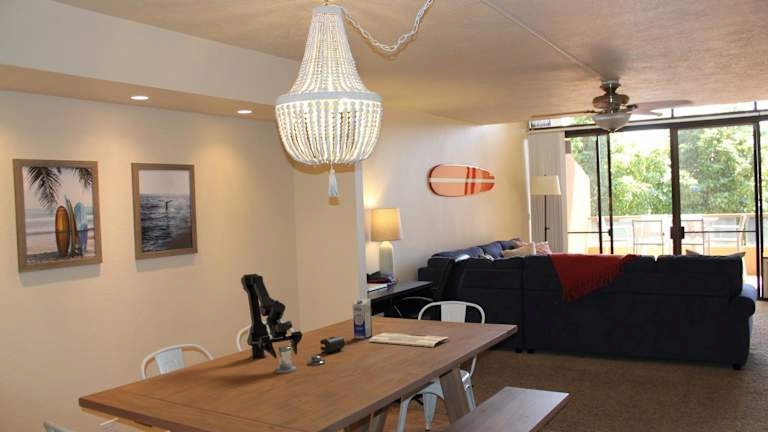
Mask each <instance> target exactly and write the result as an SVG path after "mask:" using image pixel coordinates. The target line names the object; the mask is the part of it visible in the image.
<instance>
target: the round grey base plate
mask: <svg viewBox="0 0 768 432" xmlns="http://www.w3.org/2000/svg"><path fill="white" fill-rule="evenodd" d="M325 364H326V360H325V359H322V355H312V356H310V360H308V361H307V364H306V365H308V366H316V367H317V366H323V365H325Z"/></svg>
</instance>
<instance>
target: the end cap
mask: <svg viewBox="0 0 768 432" xmlns="http://www.w3.org/2000/svg"><path fill="white" fill-rule="evenodd" d="M320 345H324V346H320V350H321V354H332V353H334V352H335V353H336V352H338V351H342V350H343V349H344V348H345V345H346V341H345V338H343V337H342V336H341V335H338V336H331V337H329V338H328V339H327V338H324V339H321V340H320Z"/></svg>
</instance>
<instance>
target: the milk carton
mask: <svg viewBox="0 0 768 432" xmlns="http://www.w3.org/2000/svg"><path fill="white" fill-rule="evenodd" d="M371 302H372V301H371V299H370V298H367V299H366V298H359V299H357V300H356V301H354V302H353V303H352V318H353V319H352V320H353V334H354V335H353V336H354V337H353V339H354V340H355V339H356V340H363V339H366V340H367V339H368V340H369V339H370V337H371V338H372V337H373V328H372V327H373V325H372V308H371V307H372V305H371V304H372V303H371Z"/></svg>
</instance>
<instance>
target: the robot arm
mask: <svg viewBox="0 0 768 432" xmlns="http://www.w3.org/2000/svg"><path fill="white" fill-rule="evenodd" d="M240 283H241V285H242V289H243V290H244V292H245V293H247V300H248V305H249V306H248V307H249V312H250V319H251V326H250V328H249V329H248V332H249V333H248V336H247V340H246V342H247V345H248V346H251V355H250V358H251V359H252V360H257V359H262V358H267V355H266V354H265V352H267V353H269V354H270V355H271V356H272V357H273V358H274V359H277V357H278V356H277V352H276V350H275V348H274V345H273V344H274V343H283V342H290V347H291V350H292V351H293V353H294V354H295V356H297V355H298V344H300V342H301V340H302V339H303V333H302V332H301V330H297V331H292V332H291V333H290V335H288V334H289V333H288V331H289V330H290V329H292V328H293V323H292V321H291V320H287V321H286V322H282V321H281V319H282V318H283V317H284V313H285V311H286V305H285V304H284V303H282V302H280V301H279V300H277V299H276V300H275V299H274V298H272V297H271V296H270V294H269V292H268V290H267V287H266V285H265V283H264V278H263V276H262V275H258V274H257V273H250V274H249V273H248V274H243V276H242V277H241V278H240ZM262 317H266V319H265V321H266V322H265V324H264V322H263V319H262ZM267 326H268V327H267ZM268 329H269V331H268ZM287 335H288V336H287ZM270 336H271V337H270Z"/></svg>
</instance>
